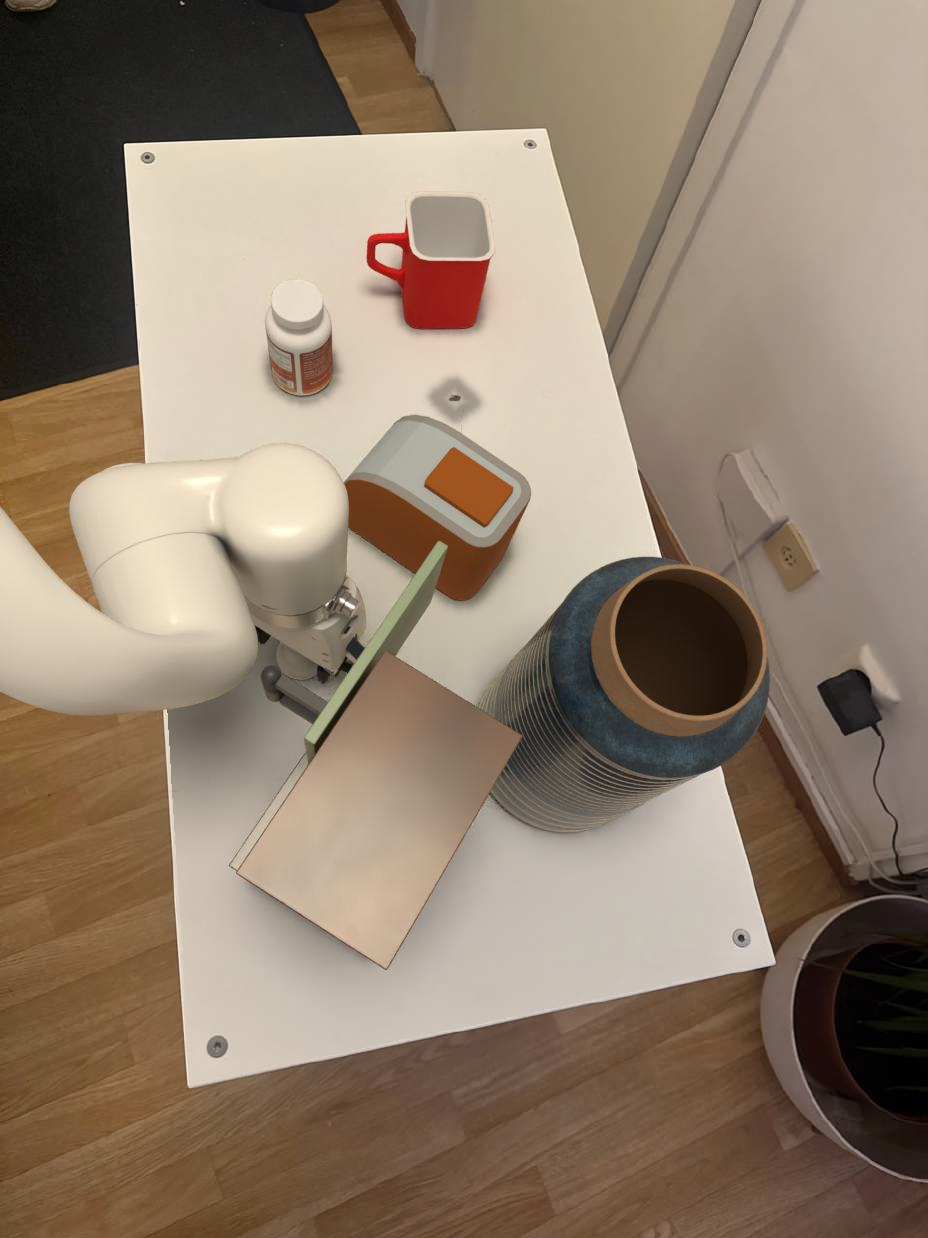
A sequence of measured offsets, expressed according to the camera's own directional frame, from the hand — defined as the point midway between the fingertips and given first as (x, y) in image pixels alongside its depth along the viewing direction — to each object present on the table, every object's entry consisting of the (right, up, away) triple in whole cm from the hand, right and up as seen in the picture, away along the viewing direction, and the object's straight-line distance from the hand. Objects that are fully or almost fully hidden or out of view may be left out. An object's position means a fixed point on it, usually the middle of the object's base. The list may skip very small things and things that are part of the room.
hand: (300, 648), depth 77 cm
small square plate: (+13, +25, +14) cm, 32 cm away
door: (+6, 0, -18) cm, 19 cm away
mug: (+10, +37, +17) cm, 42 cm away
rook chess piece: (0, -1, +3) cm, 3 cm away
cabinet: (+5, -16, -2) cm, 17 cm away
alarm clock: (+11, +11, +9) cm, 18 cm away
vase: (+23, -9, +4) cm, 25 cm away
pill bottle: (-2, +28, +12) cm, 30 cm away
